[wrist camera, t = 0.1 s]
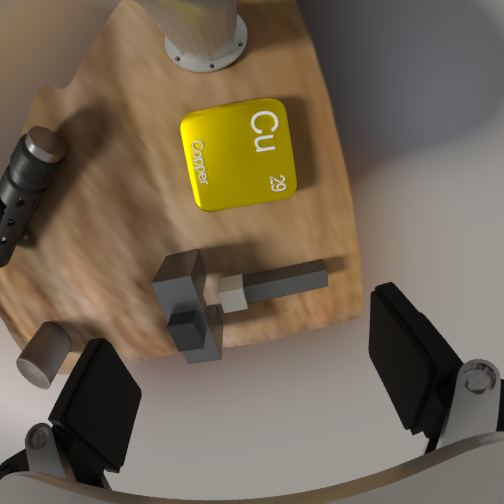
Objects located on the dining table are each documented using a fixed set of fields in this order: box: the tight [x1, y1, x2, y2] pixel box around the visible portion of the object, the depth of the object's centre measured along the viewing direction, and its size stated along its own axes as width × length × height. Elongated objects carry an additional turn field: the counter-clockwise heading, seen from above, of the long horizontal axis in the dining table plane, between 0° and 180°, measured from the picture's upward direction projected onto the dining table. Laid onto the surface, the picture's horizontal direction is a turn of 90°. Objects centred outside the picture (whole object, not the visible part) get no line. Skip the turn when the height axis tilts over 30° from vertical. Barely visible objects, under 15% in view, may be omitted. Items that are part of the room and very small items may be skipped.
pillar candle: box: [16, 322, 71, 389], centre depth 48 cm, size 10×10×15 cm
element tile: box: [180, 98, 297, 212], centre depth 39 cm, size 15×15×5 cm
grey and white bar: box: [218, 259, 328, 313], centre depth 48 cm, size 4×18×5 cm, turn 102°
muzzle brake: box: [0, 126, 66, 268], centre depth 36 cm, size 10×28×10 cm, turn 131°
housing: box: [151, 249, 223, 364], centre depth 45 cm, size 16×6×12 cm, turn 12°
